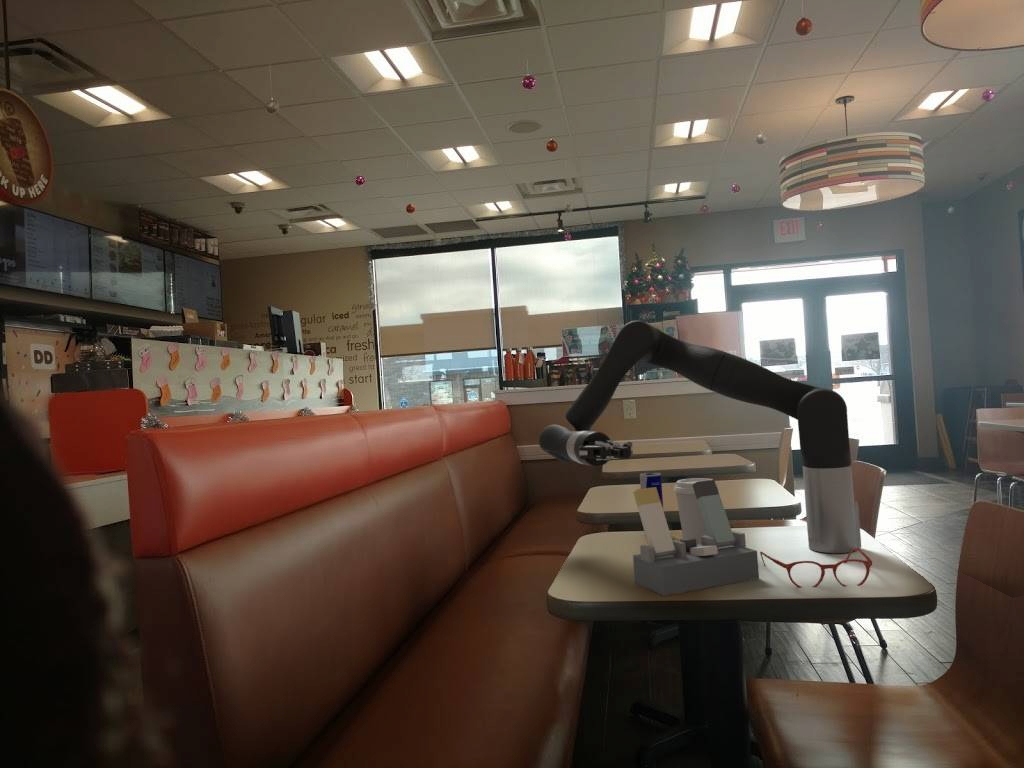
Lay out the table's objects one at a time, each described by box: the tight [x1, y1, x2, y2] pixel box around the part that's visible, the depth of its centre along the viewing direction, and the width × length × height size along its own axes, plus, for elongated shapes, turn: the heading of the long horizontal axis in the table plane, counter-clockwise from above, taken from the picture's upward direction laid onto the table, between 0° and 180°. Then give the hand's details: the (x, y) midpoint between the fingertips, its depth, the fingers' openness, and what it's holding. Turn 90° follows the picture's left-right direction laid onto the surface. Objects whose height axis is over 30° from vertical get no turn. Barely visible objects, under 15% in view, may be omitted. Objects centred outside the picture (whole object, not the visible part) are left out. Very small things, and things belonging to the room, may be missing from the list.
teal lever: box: [692, 479, 736, 548], centre depth 128 cm, size 5×2×13 cm, turn 109°
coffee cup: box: [673, 477, 719, 545], centre depth 146 cm, size 10×10×15 cm
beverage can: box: [639, 472, 665, 533], centre depth 164 cm, size 5×5×15 cm
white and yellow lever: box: [632, 487, 677, 558], centre depth 124 cm, size 5×2×13 cm, turn 109°
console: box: [632, 530, 760, 597], centre depth 124 cm, size 21×10×8 cm, turn 109°
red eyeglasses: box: [759, 548, 873, 588], centre depth 122 cm, size 17×16×5 cm
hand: (626, 453), depth 133 cm, fingers closed
